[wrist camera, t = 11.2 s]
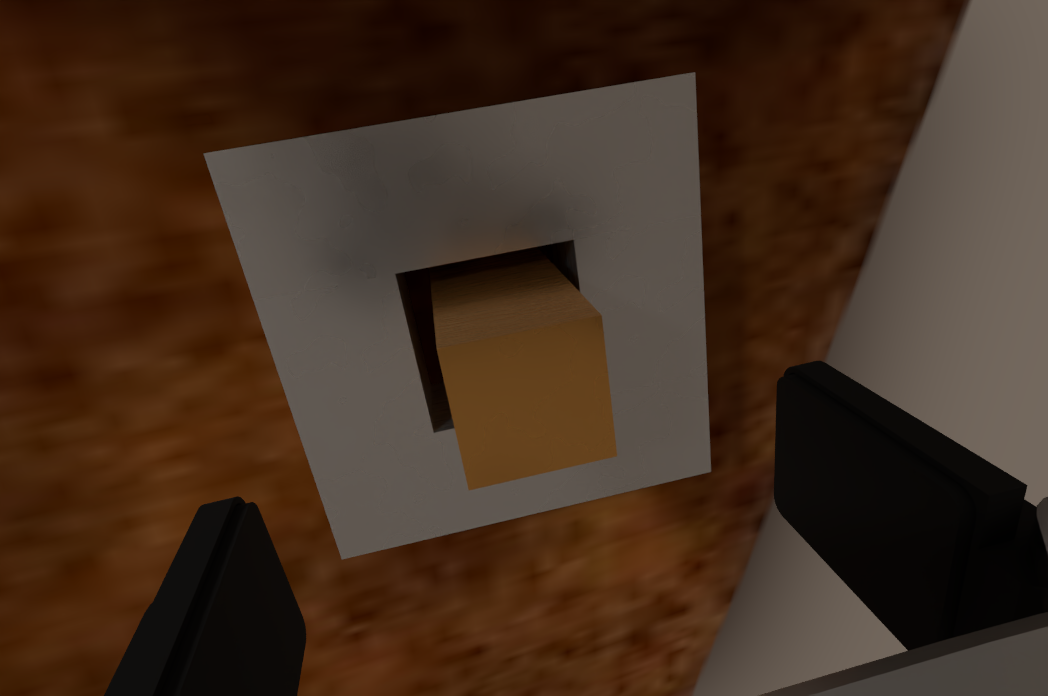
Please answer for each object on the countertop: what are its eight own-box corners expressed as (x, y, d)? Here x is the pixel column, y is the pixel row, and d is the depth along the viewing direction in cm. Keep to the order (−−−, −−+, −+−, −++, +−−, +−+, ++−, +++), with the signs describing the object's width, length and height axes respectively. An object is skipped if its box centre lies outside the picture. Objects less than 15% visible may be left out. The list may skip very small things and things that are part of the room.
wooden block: (428, 263, 22) (436, 348, 14) (533, 243, 23) (601, 315, 14) (450, 360, 24) (468, 490, 15) (547, 340, 24) (617, 456, 16)
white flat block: (242, 147, 20) (203, 153, 16) (646, 80, 21) (695, 71, 18) (352, 494, 25) (342, 559, 21) (669, 422, 26) (711, 471, 23)
